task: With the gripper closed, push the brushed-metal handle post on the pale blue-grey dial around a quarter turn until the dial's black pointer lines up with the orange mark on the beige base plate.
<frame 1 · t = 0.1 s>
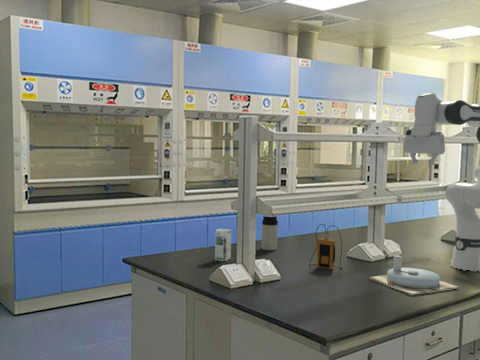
hand: (422, 164, 216), 48 cm above the lab bench, tool pointing down, fingers open, 8 cm apart
syrup box: (222, 260, 238), on the lab bench
base plate: (412, 284, 205), on the lab bench
multimeter: (327, 267, 230), on the lab bench
travel mug: (269, 249, 264), on the lab bench
capstan dial: (413, 270, 204), point 6 cm above the lab bench, hinge at -70.0°
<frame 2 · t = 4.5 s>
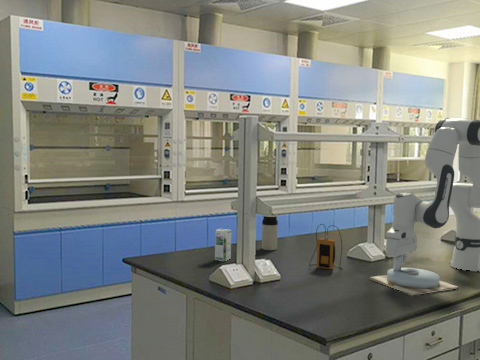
hand: (401, 264, 211), 6 cm above the lab bench, tool pointing down, fingers closed
capstan dial: (413, 270, 204), point 6 cm above the lab bench, hinge at -69.7°, touching gripper
everything else where it was.
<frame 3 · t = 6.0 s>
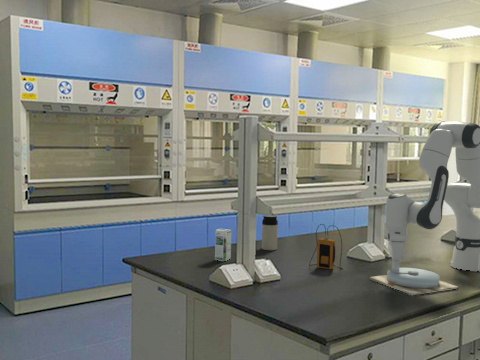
hand: (394, 266, 209), 6 cm above the lab bench, tool pointing down, fingers closed
capstan dial: (413, 270, 204), point 6 cm above the lab bench, hinge at -35.0°, touching gripper
everything else where it was.
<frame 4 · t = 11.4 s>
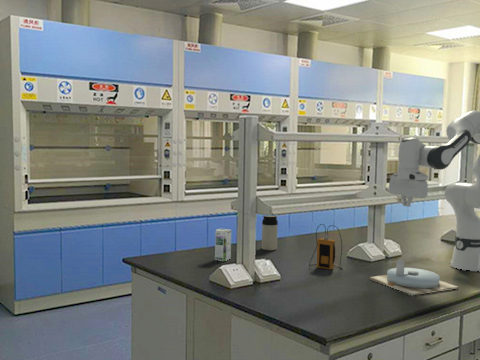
hand: (406, 206, 222), 29 cm above the lab bench, tool pointing down, fingers closed
capstan dial: (413, 270, 204), point 6 cm above the lab bench, hinge at 0.8°
everything else where it was.
at the end: capstan dial at +1° (first picture: -70°) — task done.
